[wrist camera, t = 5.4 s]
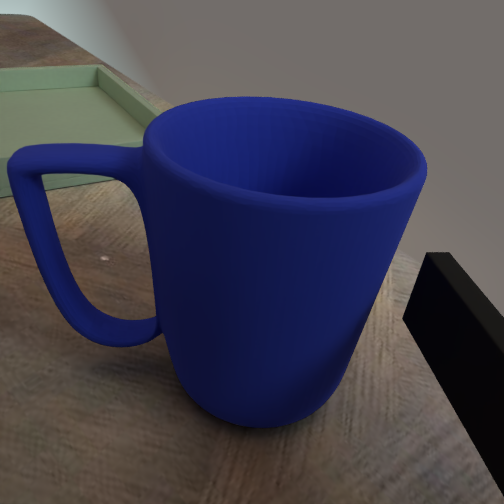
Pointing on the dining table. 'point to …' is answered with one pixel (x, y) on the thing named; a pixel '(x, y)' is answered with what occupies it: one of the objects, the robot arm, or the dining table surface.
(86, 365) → the dining table surface
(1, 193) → the tray
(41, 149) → the mug
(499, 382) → the robot arm
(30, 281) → the dining table surface
